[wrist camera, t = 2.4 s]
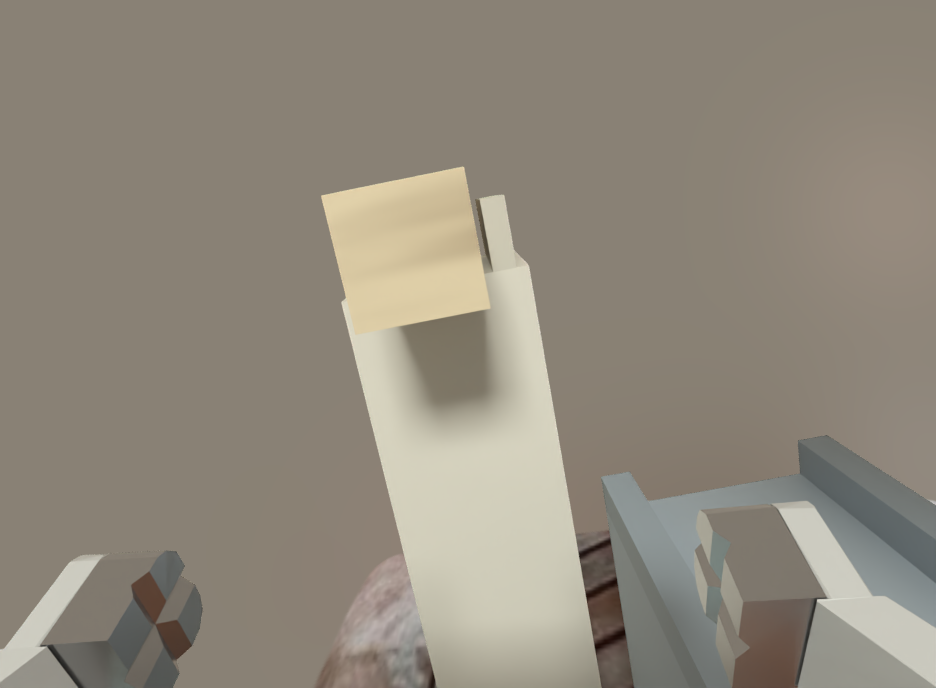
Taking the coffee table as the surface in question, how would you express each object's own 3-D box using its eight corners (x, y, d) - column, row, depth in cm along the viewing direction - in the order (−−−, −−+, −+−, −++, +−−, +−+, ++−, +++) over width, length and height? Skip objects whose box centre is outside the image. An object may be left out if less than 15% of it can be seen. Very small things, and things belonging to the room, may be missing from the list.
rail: (410, 263, 37) (396, 197, 36) (475, 250, 37) (462, 183, 36) (355, 334, 18) (321, 195, 17) (490, 308, 17) (463, 166, 16)
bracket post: (461, 670, 39) (356, 223, 33) (583, 649, 39) (502, 193, 32) (462, 787, 31) (323, 231, 25) (614, 761, 31) (516, 192, 24)
